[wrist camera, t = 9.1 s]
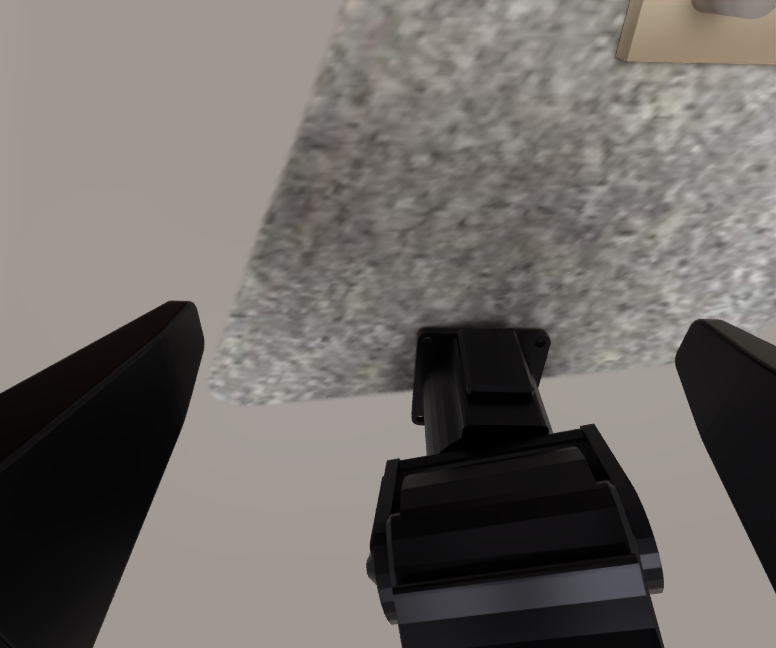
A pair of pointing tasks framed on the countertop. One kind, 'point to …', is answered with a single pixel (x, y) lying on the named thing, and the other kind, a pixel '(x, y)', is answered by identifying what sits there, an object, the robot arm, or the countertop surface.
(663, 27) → the pin board
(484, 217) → the countertop surface
